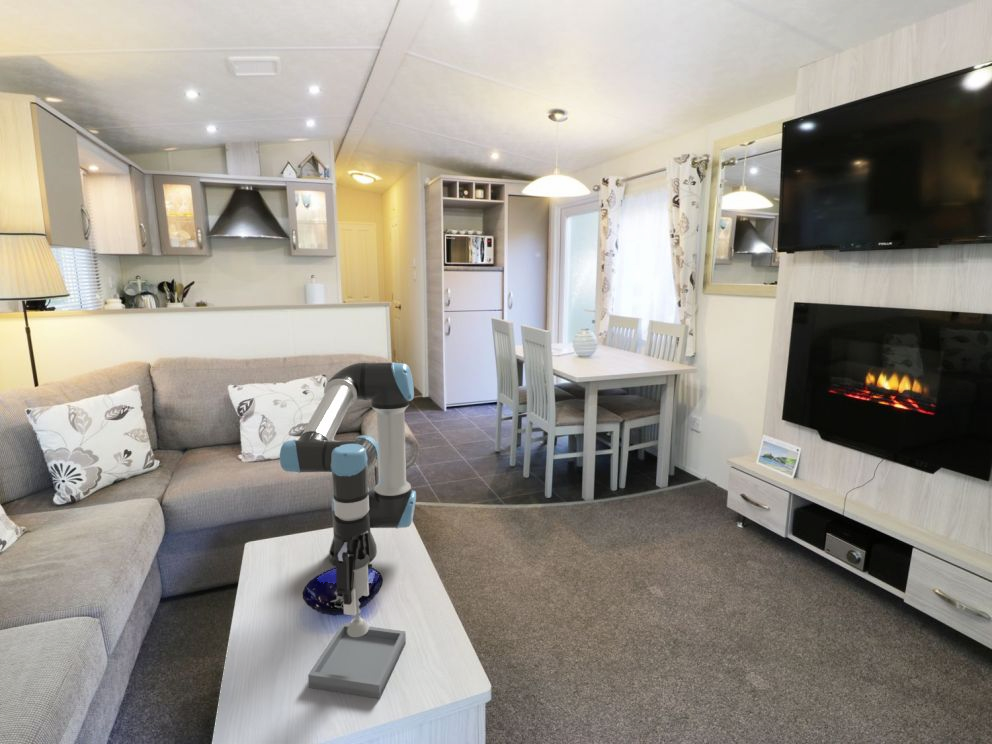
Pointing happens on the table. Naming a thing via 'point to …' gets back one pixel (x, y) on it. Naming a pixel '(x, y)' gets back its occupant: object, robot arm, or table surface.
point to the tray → (358, 662)
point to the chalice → (360, 581)
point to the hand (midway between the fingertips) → (356, 603)
